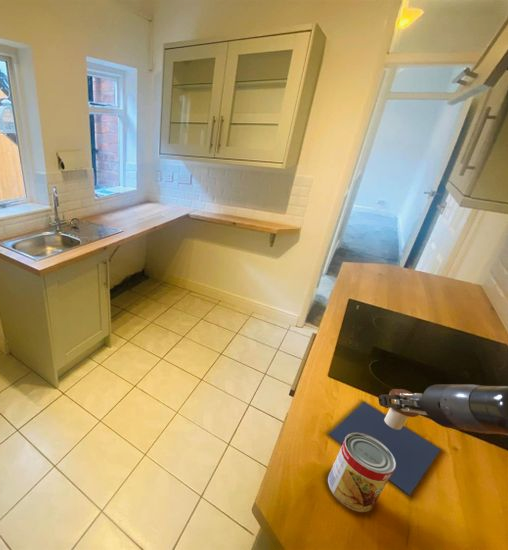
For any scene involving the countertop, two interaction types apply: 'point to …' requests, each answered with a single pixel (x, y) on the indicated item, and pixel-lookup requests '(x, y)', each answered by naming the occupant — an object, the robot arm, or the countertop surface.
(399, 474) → the napkin
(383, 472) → the canned food
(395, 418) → the mushroom
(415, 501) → the countertop surface
